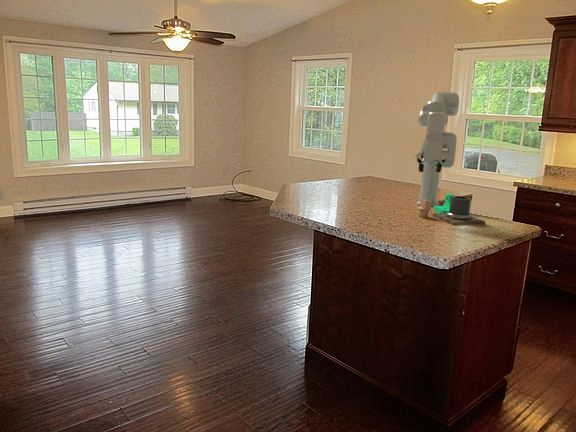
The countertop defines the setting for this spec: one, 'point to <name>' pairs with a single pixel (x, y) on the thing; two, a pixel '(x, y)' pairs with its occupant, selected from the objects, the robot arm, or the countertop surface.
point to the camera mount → (446, 206)
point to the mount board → (453, 221)
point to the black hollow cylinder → (459, 208)
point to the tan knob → (424, 208)
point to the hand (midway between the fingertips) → (429, 171)
